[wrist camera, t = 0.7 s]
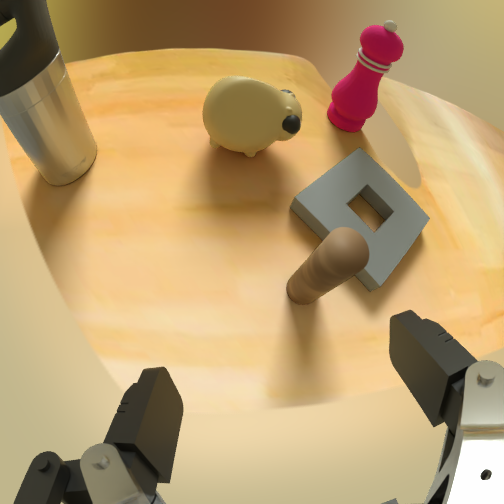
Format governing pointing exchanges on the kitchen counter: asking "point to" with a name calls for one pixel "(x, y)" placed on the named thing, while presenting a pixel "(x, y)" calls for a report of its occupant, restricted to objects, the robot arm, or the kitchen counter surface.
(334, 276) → the pin
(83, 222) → the kitchen counter surface
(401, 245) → the socket
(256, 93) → the beige animal figure
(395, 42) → the pepper mill
